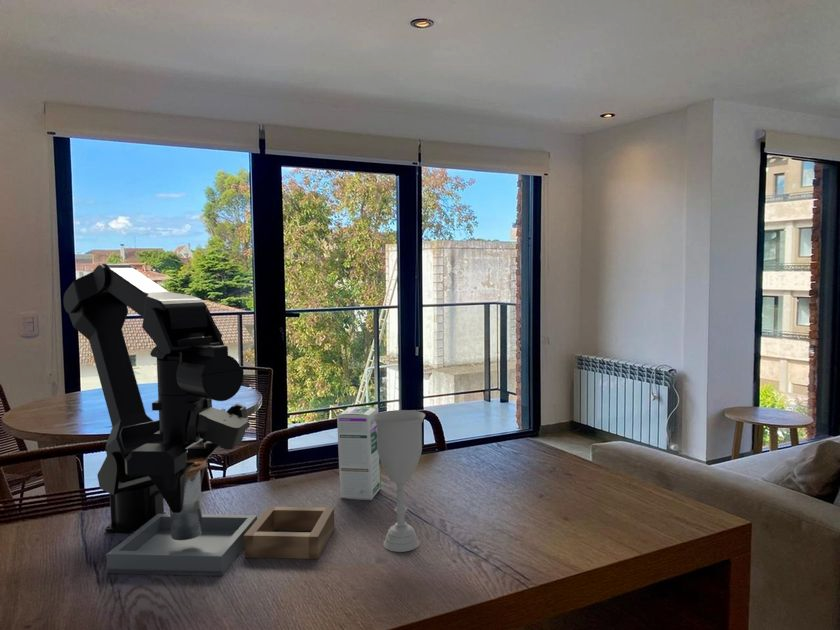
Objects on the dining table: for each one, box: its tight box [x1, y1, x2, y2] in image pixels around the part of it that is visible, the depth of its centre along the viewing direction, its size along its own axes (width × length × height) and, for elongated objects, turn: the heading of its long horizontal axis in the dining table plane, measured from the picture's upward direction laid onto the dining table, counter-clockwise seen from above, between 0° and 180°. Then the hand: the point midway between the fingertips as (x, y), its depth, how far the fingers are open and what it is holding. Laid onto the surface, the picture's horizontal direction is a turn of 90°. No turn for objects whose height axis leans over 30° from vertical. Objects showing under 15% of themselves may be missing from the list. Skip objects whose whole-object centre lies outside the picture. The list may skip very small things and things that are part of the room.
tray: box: [105, 513, 258, 577], centre depth 82 cm, size 15×13×2 cm
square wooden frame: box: [243, 506, 336, 560], centre depth 85 cm, size 10×10×3 cm
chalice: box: [373, 409, 426, 553], centre depth 83 cm, size 7×7×18 cm
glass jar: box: [169, 456, 207, 540], centre depth 82 cm, size 6×6×10 cm
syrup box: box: [336, 406, 382, 501], centre depth 103 cm, size 6×6×14 cm
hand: (185, 505), depth 82 cm, fingers closed on glass jar, 5 cm apart
